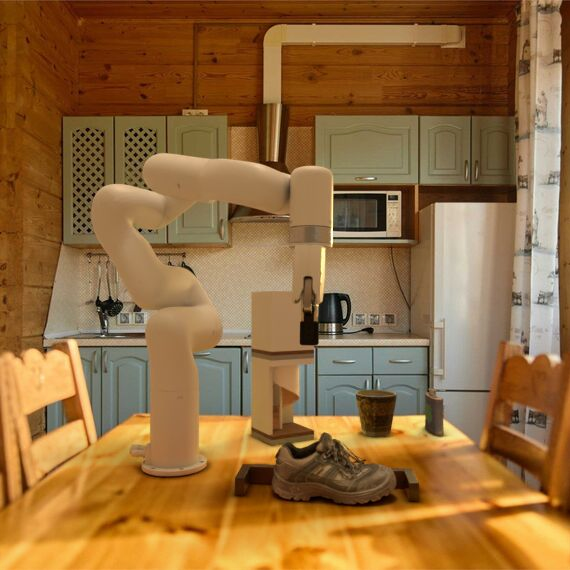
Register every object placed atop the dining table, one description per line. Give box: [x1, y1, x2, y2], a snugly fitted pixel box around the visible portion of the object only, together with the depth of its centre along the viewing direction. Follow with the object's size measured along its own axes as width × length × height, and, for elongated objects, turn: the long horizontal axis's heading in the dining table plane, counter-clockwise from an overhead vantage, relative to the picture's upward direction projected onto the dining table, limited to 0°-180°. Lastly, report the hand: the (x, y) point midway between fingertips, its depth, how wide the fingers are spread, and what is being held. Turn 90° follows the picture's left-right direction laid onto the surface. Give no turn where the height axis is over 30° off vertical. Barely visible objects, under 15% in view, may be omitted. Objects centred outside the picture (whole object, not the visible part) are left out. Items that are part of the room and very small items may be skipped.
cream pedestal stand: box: [250, 290, 315, 446], centre depth 130 cm, size 11×11×35 cm
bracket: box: [234, 463, 420, 503], centre depth 94 cm, size 31×8×3 cm, turn 85°
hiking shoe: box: [271, 431, 396, 505], centre depth 92 cm, size 9×21×12 cm
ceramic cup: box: [355, 389, 398, 438], centre depth 132 cm, size 13×10×10 cm
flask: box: [424, 388, 445, 437], centre depth 135 cm, size 9×3×11 cm, turn 2°
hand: (309, 344), depth 94 cm, fingers closed
